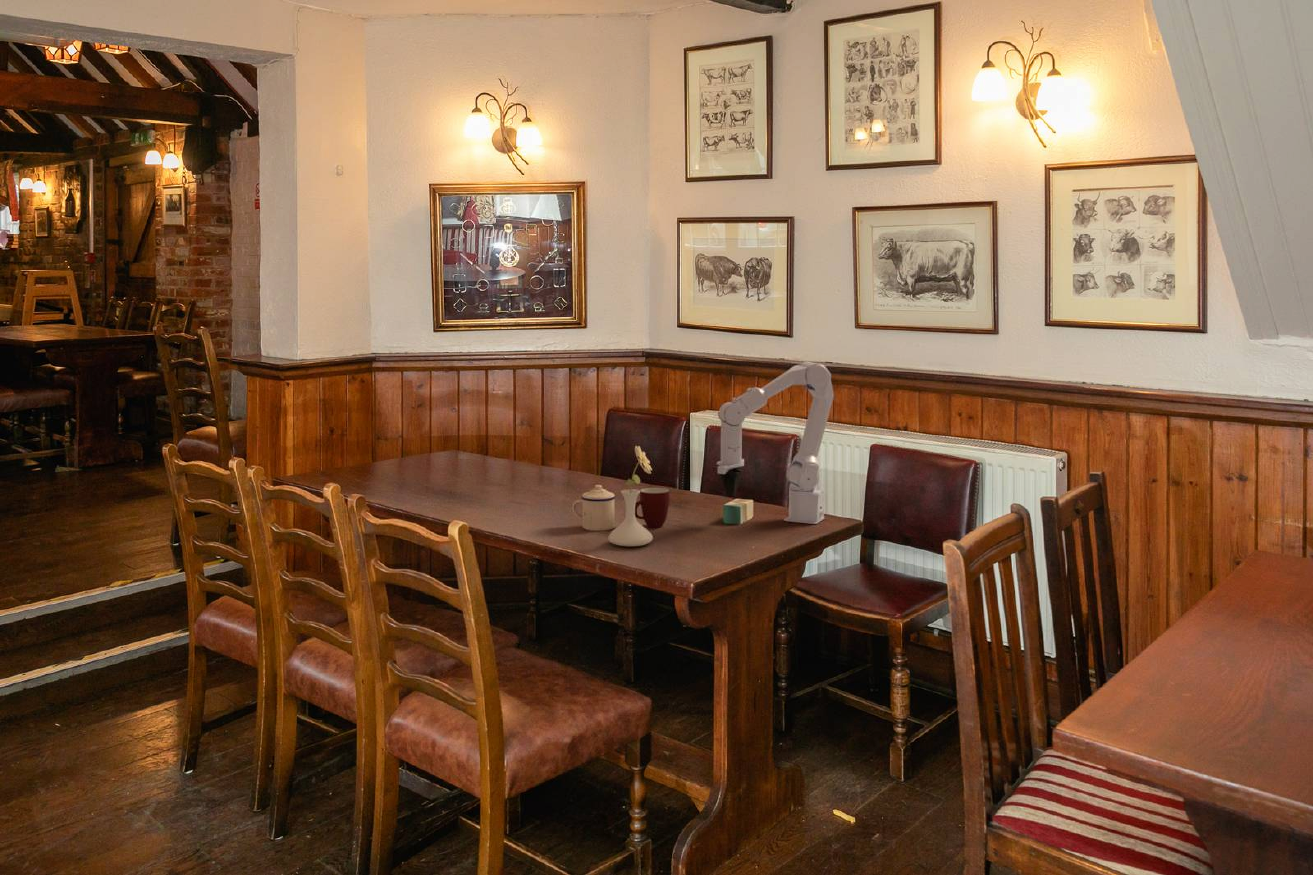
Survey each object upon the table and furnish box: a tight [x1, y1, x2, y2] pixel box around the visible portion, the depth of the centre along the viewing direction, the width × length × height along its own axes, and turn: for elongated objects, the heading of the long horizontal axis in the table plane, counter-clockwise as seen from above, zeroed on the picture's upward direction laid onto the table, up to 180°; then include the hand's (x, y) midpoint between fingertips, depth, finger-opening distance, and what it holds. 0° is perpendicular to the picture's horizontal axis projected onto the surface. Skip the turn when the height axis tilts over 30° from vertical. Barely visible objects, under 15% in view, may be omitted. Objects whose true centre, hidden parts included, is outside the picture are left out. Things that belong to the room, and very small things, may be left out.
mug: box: [635, 487, 671, 529], centre depth 296 cm, size 11×8×10 cm
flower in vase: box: [608, 445, 654, 547], centre depth 276 cm, size 13×11×25 cm
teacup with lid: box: [572, 484, 616, 532], centre depth 296 cm, size 12×9×12 cm
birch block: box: [722, 498, 754, 525], centre depth 305 cm, size 5×5×10 cm
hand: (730, 495), depth 299 cm, fingers closed
